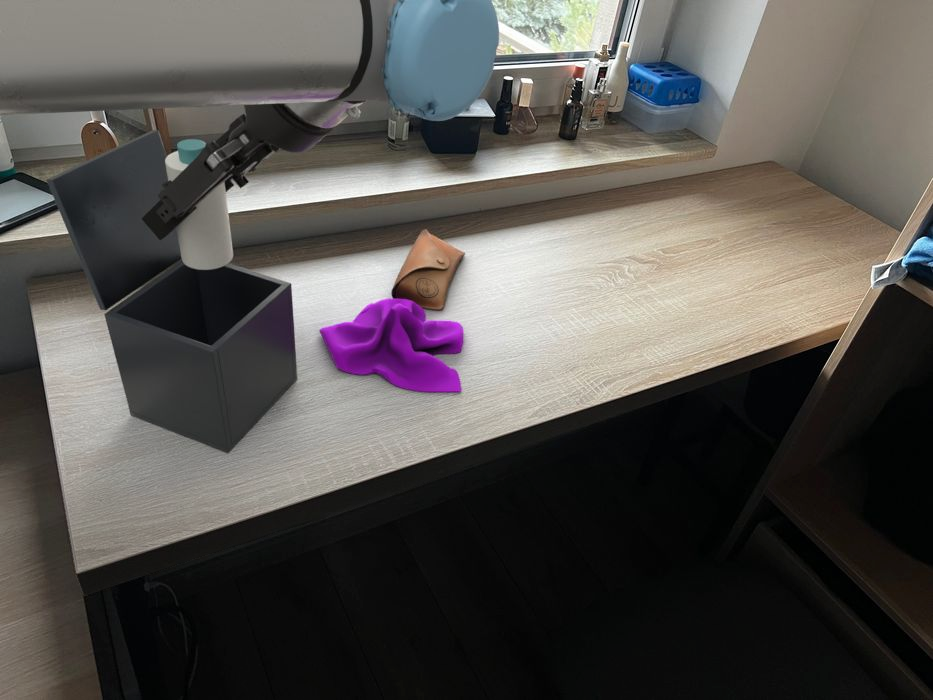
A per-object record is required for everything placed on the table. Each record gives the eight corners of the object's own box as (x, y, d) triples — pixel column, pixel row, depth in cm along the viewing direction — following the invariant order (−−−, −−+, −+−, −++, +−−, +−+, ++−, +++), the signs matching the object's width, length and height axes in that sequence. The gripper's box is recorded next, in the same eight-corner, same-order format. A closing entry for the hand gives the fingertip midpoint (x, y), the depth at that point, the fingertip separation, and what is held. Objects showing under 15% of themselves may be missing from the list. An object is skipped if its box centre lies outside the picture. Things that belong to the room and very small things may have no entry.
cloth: (296, 350, 98) (294, 313, 94) (377, 290, 111) (378, 255, 107) (436, 417, 90) (440, 380, 86) (505, 344, 103) (510, 309, 99)
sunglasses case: (446, 309, 107) (426, 273, 104) (405, 322, 110) (384, 286, 107) (466, 250, 122) (449, 217, 118) (430, 263, 124) (412, 230, 121)
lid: (158, 130, 79) (153, 129, 79) (52, 180, 68) (45, 179, 68) (195, 249, 87) (190, 248, 87) (105, 311, 76) (99, 309, 76)
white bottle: (212, 275, 74) (196, 160, 66) (170, 261, 75) (150, 147, 68) (243, 252, 78) (231, 141, 70) (202, 239, 79) (186, 129, 71)
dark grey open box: (297, 379, 93) (291, 283, 84) (228, 453, 82) (212, 352, 73) (208, 347, 96) (193, 251, 87) (130, 415, 85) (103, 313, 76)
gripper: (272, 167, 55) (136, 286, 69) (380, 99, 69) (249, 210, 83) (205, 83, 53) (79, 223, 67) (330, 30, 67) (204, 155, 81)
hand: (173, 215), depth 75 cm, fingers closed on white bottle, 5 cm apart
